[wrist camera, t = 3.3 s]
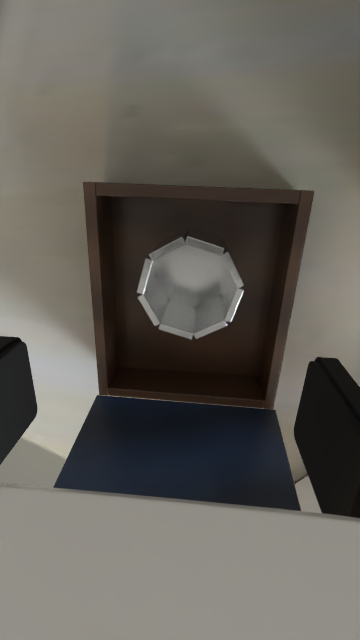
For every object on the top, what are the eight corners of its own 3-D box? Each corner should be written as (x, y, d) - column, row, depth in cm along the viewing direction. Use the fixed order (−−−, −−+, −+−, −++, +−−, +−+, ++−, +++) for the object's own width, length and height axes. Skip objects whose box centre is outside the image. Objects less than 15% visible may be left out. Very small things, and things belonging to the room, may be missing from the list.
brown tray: (103, 183, 24) (82, 181, 20) (296, 190, 23) (314, 190, 19) (113, 368, 30) (99, 395, 27) (264, 380, 30) (273, 409, 26)
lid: (-68, 741, 11) (-61, 747, 11) (379, 812, 10) (371, 815, 10) (96, 394, 26) (97, 402, 26) (275, 409, 25) (273, 416, 25)
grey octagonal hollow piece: (212, 213, 23) (213, 219, 18) (247, 288, 25) (257, 313, 20) (137, 253, 25) (120, 269, 20) (176, 321, 27) (169, 351, 22)
